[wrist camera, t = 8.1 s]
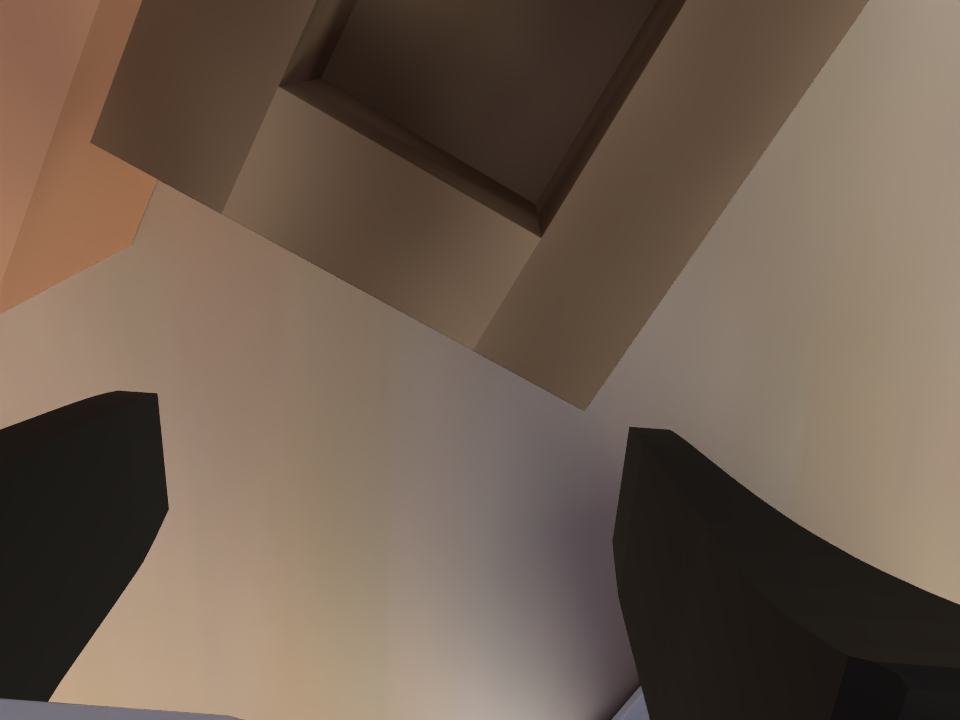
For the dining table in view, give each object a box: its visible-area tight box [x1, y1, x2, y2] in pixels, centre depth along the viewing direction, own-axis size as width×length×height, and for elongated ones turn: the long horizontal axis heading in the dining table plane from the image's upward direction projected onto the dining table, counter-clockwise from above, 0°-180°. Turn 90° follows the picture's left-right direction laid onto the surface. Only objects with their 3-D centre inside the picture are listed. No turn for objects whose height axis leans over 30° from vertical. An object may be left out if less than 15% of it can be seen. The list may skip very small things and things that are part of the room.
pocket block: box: [90, 0, 869, 411], centre depth 16 cm, size 11×11×4 cm
